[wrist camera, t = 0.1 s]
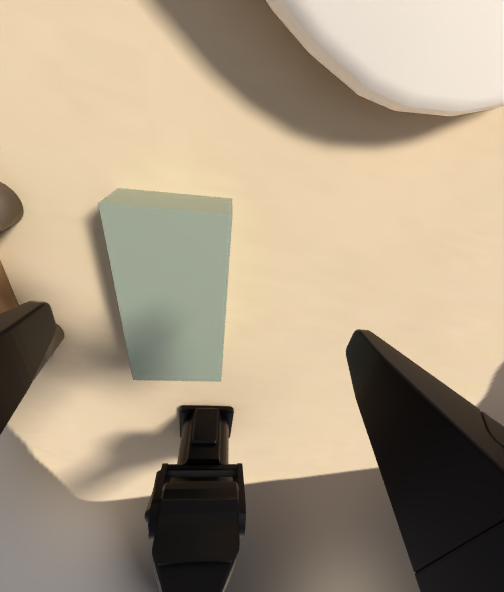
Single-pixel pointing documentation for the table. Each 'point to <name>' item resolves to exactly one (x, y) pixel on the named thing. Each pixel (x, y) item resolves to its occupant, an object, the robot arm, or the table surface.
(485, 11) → the plate
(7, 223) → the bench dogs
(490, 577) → the robot arm
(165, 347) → the painted plate block
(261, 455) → the table surface
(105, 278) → the table surface
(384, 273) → the table surface
